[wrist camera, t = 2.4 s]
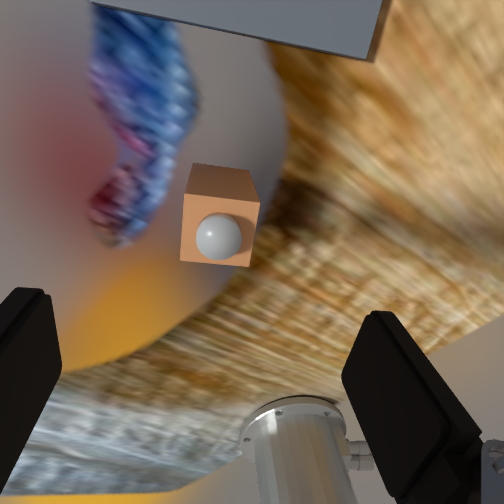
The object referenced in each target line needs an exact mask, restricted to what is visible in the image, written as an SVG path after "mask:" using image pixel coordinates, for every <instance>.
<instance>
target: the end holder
mask: <svg viewBox="0 0 504 504" xmlns="http://www.w3.org/2000/svg"><path fill="white" fill-rule="evenodd" d="M90 2H92V3H93V4H95V5H98V6H103V7H107V8H112V9H117V10H122V11H127V12H131V13H136V14H141V15H146V16H151V17H155V18H160V19H165V20H170V21H175V22H179V23H185V24H189V25H194V26H199V27H204V28H208V29H213V30H218V31H223V32H228V33H232V34H237V35H242V36H247V37H252V38H256V39H261V40H266V41H271V42H276V43H280V44H285V45H290V46H295V47H300V48H304V49H309V50H314V51H319V52H324V53H328V54H333V55H338V56H343V57H348V58H352V59H357V60H363V59H366V57H367V54H368V50H369V47H370V43H371V40H372V36H373V32H374V29H375V25H376V22H377V18H378V14H379V11H380V7H381V4H382V0H90Z"/></svg>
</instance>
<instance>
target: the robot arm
mask: <svg viewBox="0 0 504 504" xmlns="http://www.w3.org/2000/svg"><path fill="white" fill-rule="evenodd" d="M61 370H62V361H61V355H60V349H59V342H58V336H57V330H56V324H55V318H54V312H53V306H52V300H51V296H50V295H47V294H45V293H44V291H43V290H42V289H39V288H22V287H18V288H15V289H14V290H13V291H12V292H11V293H10V294H9V295H8V296H7V297H6V299H5V300H4V301H3V302H2V303H1V304H0V494H1V492H2V490H3V488H4V486H5V484H6V482H7V480H8V478H9V476H10V474H11V472H12V470H13V468H14V466H15V464H16V462H17V460H18V458H19V456H20V454H21V452H22V450H23V448H24V446H25V444H26V442H27V440H28V438H29V436H30V434H31V432H32V430H33V428H34V426H35V424H36V422H37V421H38V419H39V417H40V415H41V413H42V411H43V409H44V407H45V405H46V403H47V401H48V399H49V397H50V395H51V393H52V391H53V389H54V387H55V385H56V383H57V381H58V379H59V376H60V374H61ZM341 379H342V383H343V386H344V388H345V391H346V393H347V395H348V398H349V400H350V403H351V405H352V408H353V410H354V412H355V415H356V417H357V420H358V422H359V424H360V427H361V429H362V431H363V434H364V436H365V439H366V441H355V442H350V441H349V440H348V439H345V434H346V424H345V421H344V418H343V416H342V414H341V412H340V410H339V409H338V408H336V407H335V406H334V405H333V404H331V403H329V402H327V401H324V400H321V399H318V398H312V397H292V398H286V399H282V400H278V401H275V402H272V403H270V404H267V405H266V406H264V407H262V408H260V409H258V410H257V411H256V412H254V413H253V414H252V415H251V416H250V417H249V418H248V419H247V420H246V421H245V423H244V424H243V426H242V428H241V431H240V448H241V451H242V453H243V455H244V456H245V457H246V458H247V459H248V460H249V461H250V462H252V463H254V464H255V465H256V474H257V484H258V494H259V504H358V501H357V498H356V495H355V492H354V489H353V486H352V484H351V480H350V477H349V474H348V471H349V470H372V469H373V467H374V461H375V463H376V465H377V468H378V470H379V473H380V475H381V477H382V480H383V482H384V484H385V487H386V489H387V491H388V493H389V494H390V496H392V497H394V498H395V500H396V503H397V504H504V441H500V440H495V439H493V440H487V441H486V442H485V443H483V442H482V440H481V439H480V438H479V435H480V434H481V433H482V431H481V430H480V428H479V427H478V426H477V424H476V423H475V422H474V420H473V419H472V417H471V416H470V415H469V413H468V412H467V411H466V409H465V408H464V407H463V406H462V404H461V403H460V402H459V400H458V399H457V397H456V396H455V395H454V393H453V392H452V391H451V389H450V388H449V387H448V385H447V384H446V383H445V381H444V380H443V379H442V377H441V376H440V375H439V373H438V372H437V371H436V369H435V368H434V367H433V365H432V364H431V363H430V361H429V360H428V358H427V357H426V356H425V354H424V353H423V352H422V350H421V349H420V348H419V346H418V345H417V344H416V342H415V341H414V340H413V338H412V337H411V336H410V334H409V333H408V332H407V330H406V329H405V328H404V326H403V325H402V324H401V322H400V321H399V320H398V318H397V317H396V316H395V314H394V313H393V312H390V311H376V310H375V311H372V312H371V313H370V315H367V316H366V317H365V319H364V321H363V323H362V326H361V328H360V330H359V333H358V335H357V337H356V340H355V342H354V345H353V347H352V349H351V352H350V354H349V356H348V359H347V361H346V363H345V366H344V368H343V370H342V375H341ZM370 451H371V453H372V455H371V453H370ZM372 456H373V457H372ZM373 458H374V461H373Z"/></svg>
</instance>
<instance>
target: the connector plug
mask: <svg viewBox="0 0 504 504" xmlns="http://www.w3.org/2000/svg"><path fill="white" fill-rule="evenodd" d="M259 207H260V201H259V198H258V195H257V193H256V189H255V187H254V184H253V181H252V179H251V176H250V173H249V171H248V170H242V169H235V168H228V167H220V166H213V165H206V164H199V163H193V164H192V168H191V172H190V175H189V179H188V183H187V186H186V190H185V194H184V208H183V224H182V238H181V253H180V261H191V262H202V263H214V264H224V265H235V266H246V267H249V262H250V257H251V251H252V246H253V240H254V235H255V229H256V224H257V218H258V213H259Z"/></svg>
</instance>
